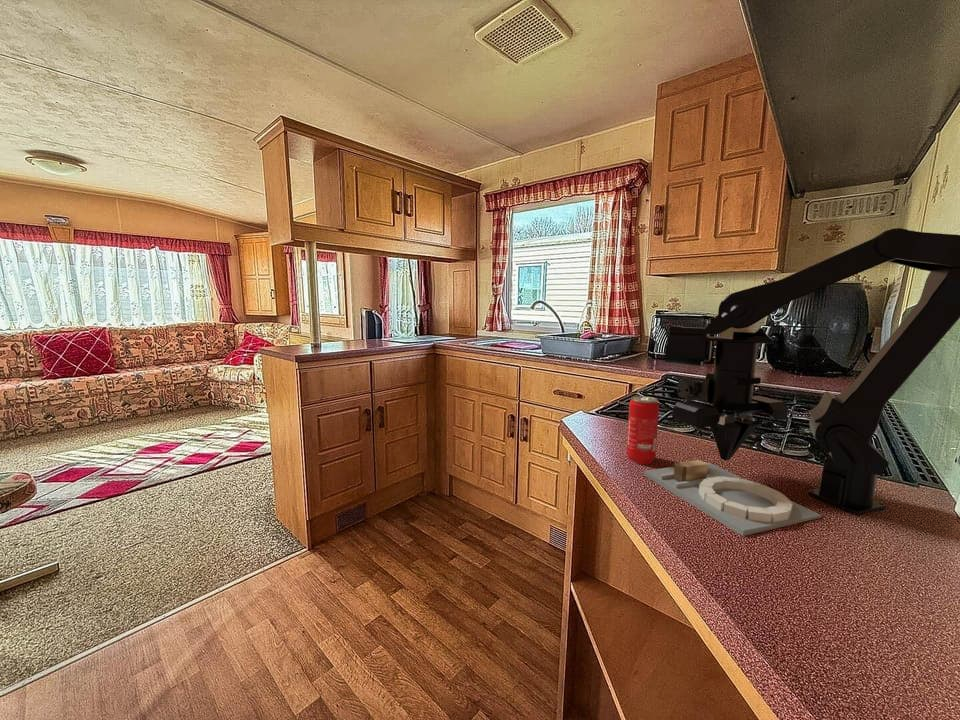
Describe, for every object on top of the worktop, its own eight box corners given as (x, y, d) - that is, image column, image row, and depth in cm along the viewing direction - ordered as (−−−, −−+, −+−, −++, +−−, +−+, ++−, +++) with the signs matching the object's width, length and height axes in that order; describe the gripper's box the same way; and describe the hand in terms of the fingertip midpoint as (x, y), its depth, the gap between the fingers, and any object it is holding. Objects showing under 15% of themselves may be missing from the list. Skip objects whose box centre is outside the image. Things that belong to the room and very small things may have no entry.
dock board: (707, 466, 73) (708, 455, 72) (820, 520, 55) (822, 507, 54) (643, 475, 69) (644, 464, 69) (742, 536, 51) (744, 522, 50)
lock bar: (697, 473, 67) (698, 459, 66) (706, 478, 65) (707, 464, 65) (673, 477, 65) (674, 463, 65) (681, 482, 64) (682, 467, 63)
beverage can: (624, 461, 75) (628, 400, 73) (627, 452, 79) (631, 394, 77) (653, 467, 72) (658, 403, 70) (656, 457, 77) (660, 397, 75)
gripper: (734, 360, 75) (726, 439, 77) (652, 364, 70) (646, 448, 72) (795, 369, 64) (784, 460, 66) (703, 375, 59) (695, 473, 61)
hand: (725, 459), depth 67 cm, fingers closed
